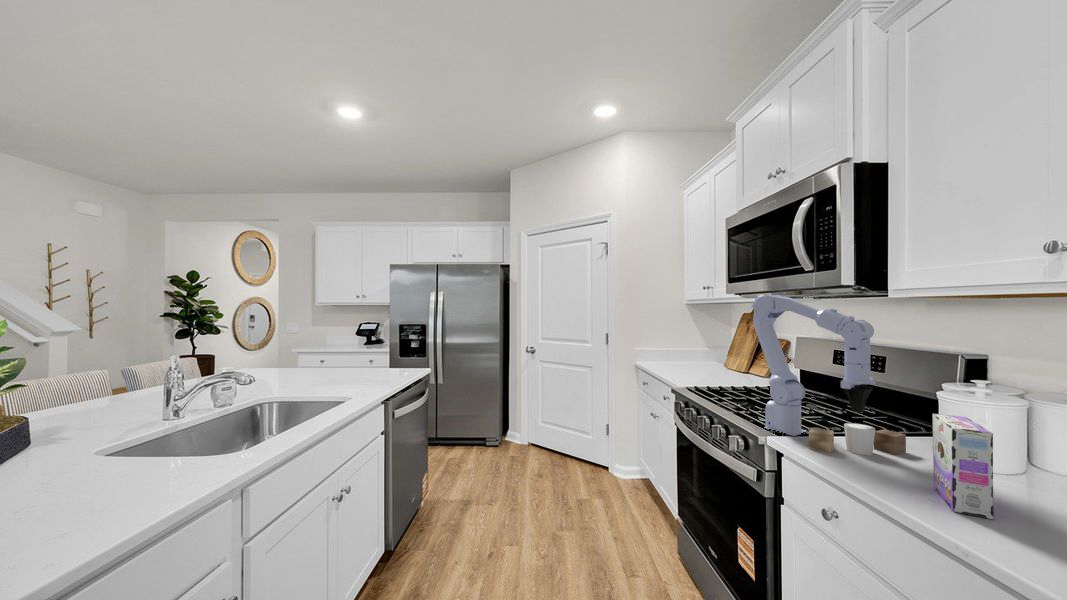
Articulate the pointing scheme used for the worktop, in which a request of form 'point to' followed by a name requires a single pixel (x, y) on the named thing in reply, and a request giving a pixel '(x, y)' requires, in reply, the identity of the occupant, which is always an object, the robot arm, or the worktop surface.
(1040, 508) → the worktop surface
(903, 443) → the walnut block
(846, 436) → the white cup
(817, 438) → the oak block
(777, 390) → the robot arm
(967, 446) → the candy box
